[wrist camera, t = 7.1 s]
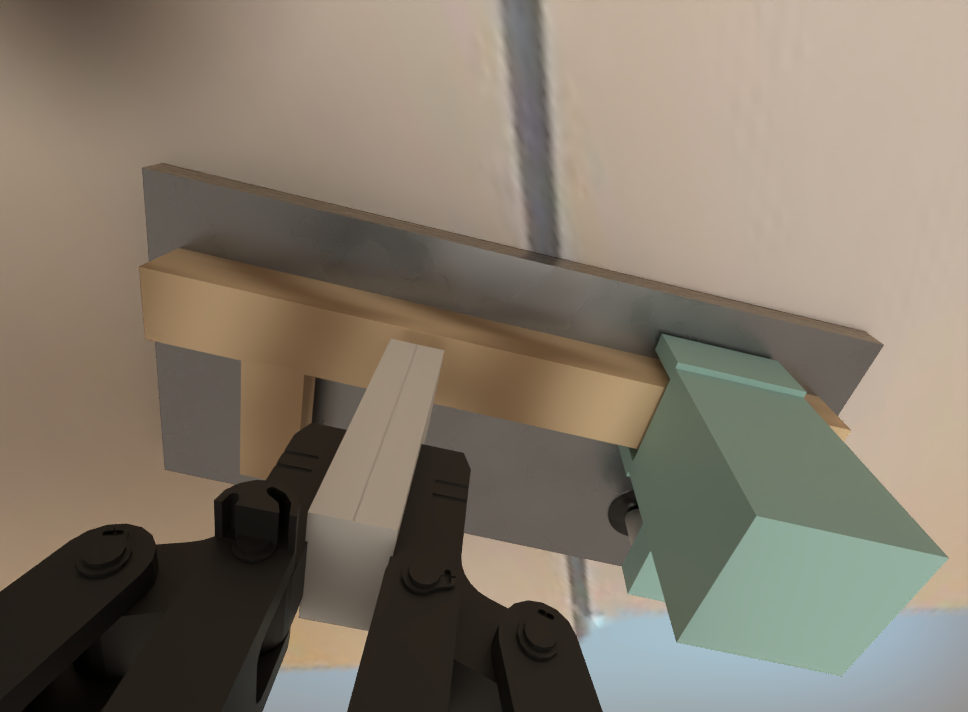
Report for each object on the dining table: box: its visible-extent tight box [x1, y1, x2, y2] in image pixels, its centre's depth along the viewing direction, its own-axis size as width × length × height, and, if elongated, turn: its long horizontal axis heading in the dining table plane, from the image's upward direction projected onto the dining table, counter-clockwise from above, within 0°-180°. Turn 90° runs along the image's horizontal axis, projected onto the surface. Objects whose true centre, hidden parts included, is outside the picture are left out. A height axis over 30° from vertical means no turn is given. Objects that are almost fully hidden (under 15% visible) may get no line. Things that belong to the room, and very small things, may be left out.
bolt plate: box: [142, 163, 884, 566], centre depth 20 cm, size 24×12×1 cm, turn 77°
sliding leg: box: [618, 334, 948, 676], centre depth 16 cm, size 4×8×8 cm, turn 167°
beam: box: [139, 248, 851, 480], centre depth 18 cm, size 22×7×2 cm, turn 77°
